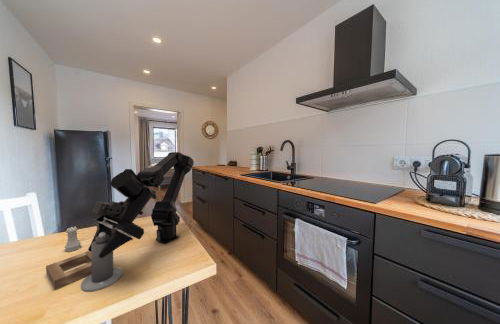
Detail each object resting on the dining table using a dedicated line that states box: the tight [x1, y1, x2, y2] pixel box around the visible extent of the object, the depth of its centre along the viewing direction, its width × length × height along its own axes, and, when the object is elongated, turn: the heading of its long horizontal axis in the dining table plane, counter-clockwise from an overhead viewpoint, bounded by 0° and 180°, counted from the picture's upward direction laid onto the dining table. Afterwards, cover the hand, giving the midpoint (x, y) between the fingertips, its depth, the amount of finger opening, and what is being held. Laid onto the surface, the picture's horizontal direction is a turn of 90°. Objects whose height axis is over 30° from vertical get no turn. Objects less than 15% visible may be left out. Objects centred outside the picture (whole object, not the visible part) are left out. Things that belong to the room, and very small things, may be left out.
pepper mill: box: [90, 232, 114, 282], centre depth 52 cm, size 5×5×13 cm
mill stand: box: [45, 250, 91, 291], centre depth 56 cm, size 11×11×2 cm
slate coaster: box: [80, 266, 123, 293], centre depth 52 cm, size 9×9×1 cm
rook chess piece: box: [64, 226, 82, 253], centre depth 69 cm, size 4×4×8 cm
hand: (94, 254), depth 51 cm, fingers open, 6 cm apart
